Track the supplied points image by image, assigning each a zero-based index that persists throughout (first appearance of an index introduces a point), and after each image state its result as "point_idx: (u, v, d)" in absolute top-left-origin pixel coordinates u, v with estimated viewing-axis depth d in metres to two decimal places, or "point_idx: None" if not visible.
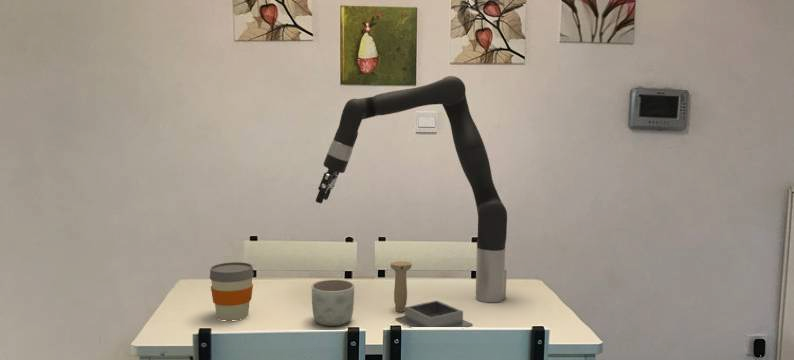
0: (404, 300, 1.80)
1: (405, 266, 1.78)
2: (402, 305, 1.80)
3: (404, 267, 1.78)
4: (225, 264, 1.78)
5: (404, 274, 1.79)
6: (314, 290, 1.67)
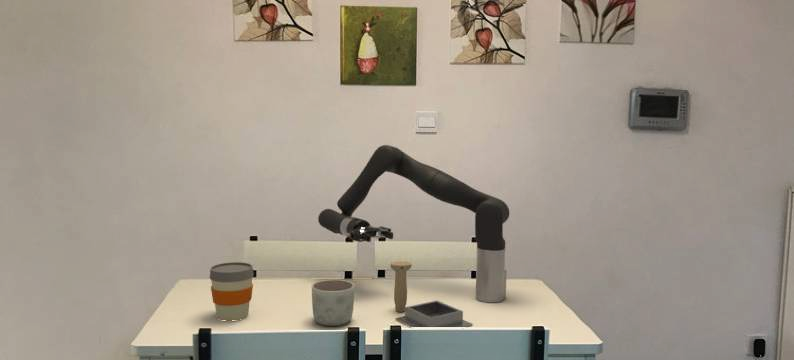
0: (404, 300, 1.80)
1: (405, 266, 1.78)
2: (402, 305, 1.80)
3: (404, 267, 1.78)
4: (225, 264, 1.78)
5: (404, 274, 1.79)
6: (314, 290, 1.67)
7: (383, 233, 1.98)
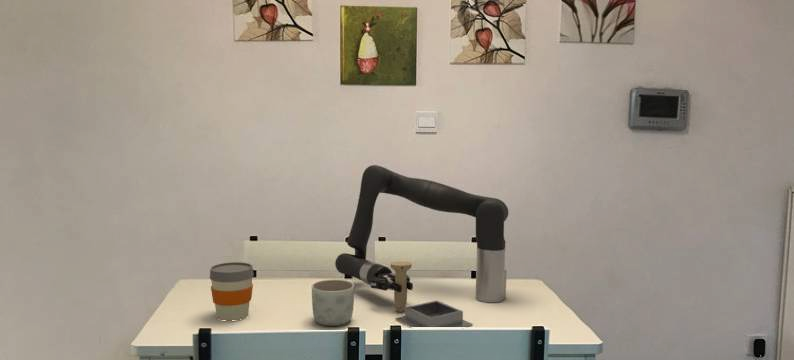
0: (404, 300, 1.80)
1: (405, 266, 1.78)
2: (402, 305, 1.80)
3: (404, 267, 1.78)
4: (225, 264, 1.78)
5: (404, 274, 1.79)
6: (314, 290, 1.67)
7: None
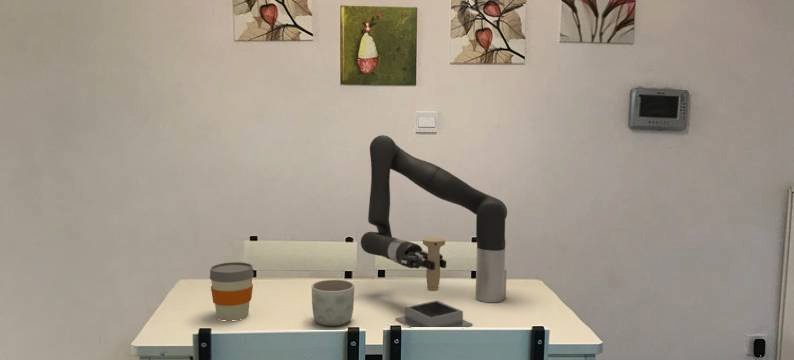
0: (437, 278, 1.69)
1: (439, 242, 1.67)
2: (435, 284, 1.69)
3: (438, 243, 1.67)
4: (225, 264, 1.78)
5: (437, 251, 1.68)
6: (314, 290, 1.67)
7: None
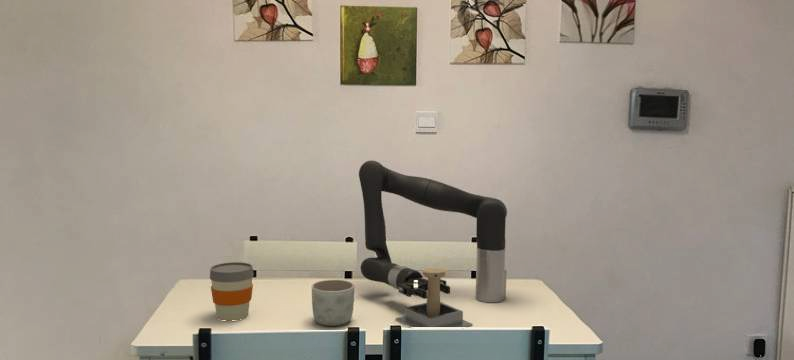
0: (437, 309, 1.70)
1: (439, 273, 1.68)
2: (435, 315, 1.70)
3: (438, 275, 1.68)
4: (225, 264, 1.78)
5: (438, 282, 1.69)
6: (314, 290, 1.67)
7: None
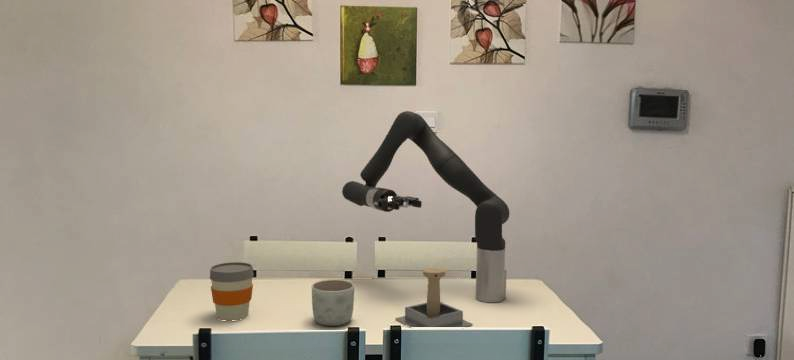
0: (437, 309, 1.70)
1: (439, 273, 1.68)
2: (435, 315, 1.70)
3: (438, 274, 1.68)
4: (225, 264, 1.78)
5: (438, 282, 1.69)
6: (314, 290, 1.67)
7: (410, 203, 1.95)
